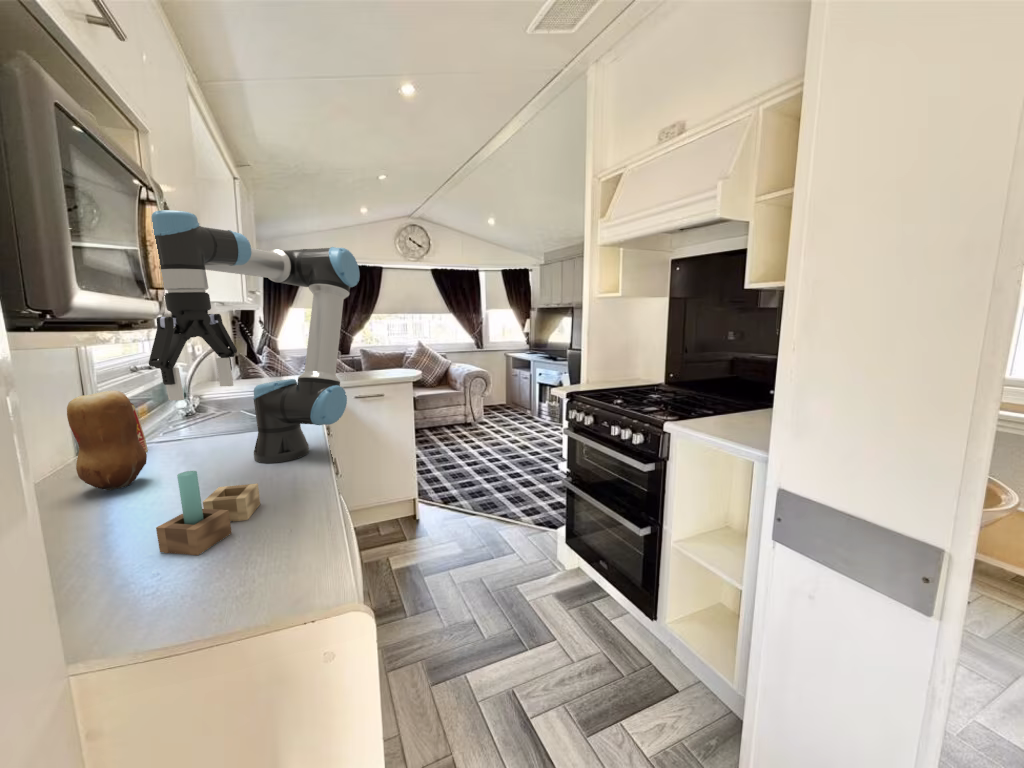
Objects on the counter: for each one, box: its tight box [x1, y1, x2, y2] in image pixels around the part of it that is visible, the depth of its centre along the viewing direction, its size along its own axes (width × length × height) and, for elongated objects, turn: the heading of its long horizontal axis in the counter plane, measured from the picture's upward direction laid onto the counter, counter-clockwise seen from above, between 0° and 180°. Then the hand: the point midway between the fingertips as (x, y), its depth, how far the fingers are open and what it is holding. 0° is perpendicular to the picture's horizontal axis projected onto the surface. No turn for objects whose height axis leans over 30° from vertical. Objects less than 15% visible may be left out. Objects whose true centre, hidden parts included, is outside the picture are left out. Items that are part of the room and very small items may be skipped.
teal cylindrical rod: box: [177, 470, 204, 525], centre depth 84 cm, size 3×3×14 cm
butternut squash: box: [66, 390, 148, 492], centre depth 110 cm, size 14×13×25 cm
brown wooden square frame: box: [155, 508, 233, 556], centre depth 84 cm, size 8×8×5 cm
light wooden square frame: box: [202, 483, 261, 522], centre depth 96 cm, size 8×8×5 cm
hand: (203, 392), depth 94 cm, fingers open, 13 cm apart
